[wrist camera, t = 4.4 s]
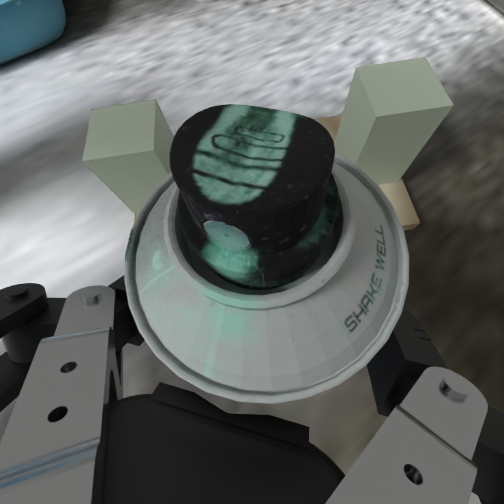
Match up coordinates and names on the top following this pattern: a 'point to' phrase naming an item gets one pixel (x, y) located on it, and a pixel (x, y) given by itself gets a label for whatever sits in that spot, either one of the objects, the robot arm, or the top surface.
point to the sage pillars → (346, 143)
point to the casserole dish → (29, 26)
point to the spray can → (264, 258)
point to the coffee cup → (205, 0)
